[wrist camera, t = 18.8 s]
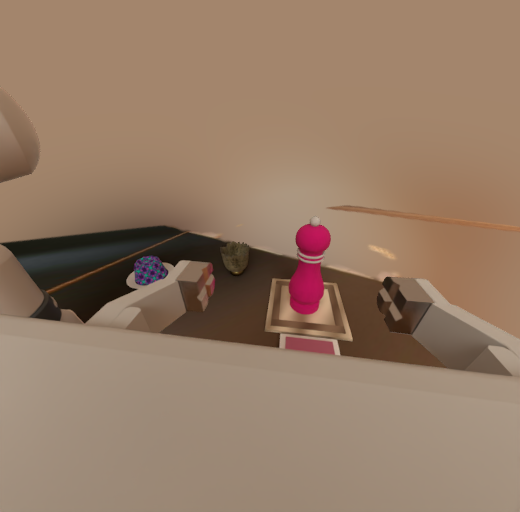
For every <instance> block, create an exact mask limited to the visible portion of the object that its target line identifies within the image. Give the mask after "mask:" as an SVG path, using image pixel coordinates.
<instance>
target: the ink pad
mask: <svg viewBox="0 0 520 512" xmlns="http://www.w3.org/2000/svg"><path fill="white" fill-rule="evenodd" d="M279 348H283V349H291V350H300V351H308V352H316V353H324V354H333V355H340V351H339V347H338V342H337V340H335V339H326V338H317V337H309V336H300V335H291V334H282V333H280V346H279Z"/></svg>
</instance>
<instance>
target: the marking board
mask: <svg viewBox="0 0 520 512" xmlns="http://www.w3.org/2000/svg"><path fill="white" fill-rule="evenodd" d="M289 282H290V280H286V279H272V286H271V292H270V299H269V305H268V312H267V319H266V325H265V331H267V332H276V333H285V334H294V335H302V336H311V337H320V338H329V339H338V340H346V341H352V340H353V338H352V335H351V331H350V328H349V325H348V321H347V318H346V314H345V311H344V307H343V304H342V300H341V297H340V293H339V290H338V286H337V283H325V282H324V295H323V297H322V298H321V300H320V303H319V308H318V310H317V311H316V312H315V313H313V314H309V315H304V314H300V313H297V312H296V311H294V310H293V309H292V308H291V306H290V293H289V288H288V287H289Z"/></svg>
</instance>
